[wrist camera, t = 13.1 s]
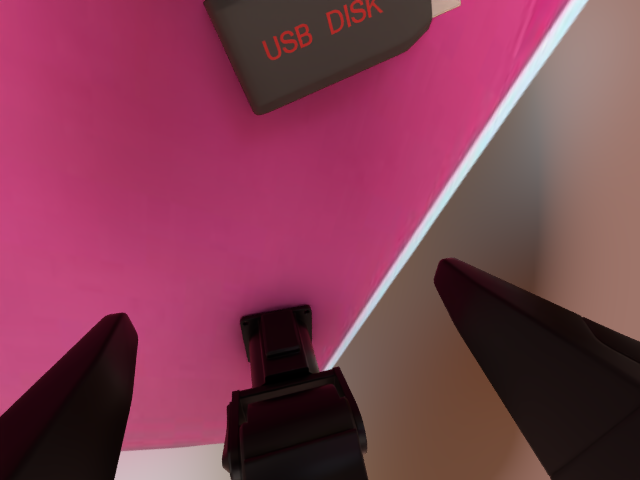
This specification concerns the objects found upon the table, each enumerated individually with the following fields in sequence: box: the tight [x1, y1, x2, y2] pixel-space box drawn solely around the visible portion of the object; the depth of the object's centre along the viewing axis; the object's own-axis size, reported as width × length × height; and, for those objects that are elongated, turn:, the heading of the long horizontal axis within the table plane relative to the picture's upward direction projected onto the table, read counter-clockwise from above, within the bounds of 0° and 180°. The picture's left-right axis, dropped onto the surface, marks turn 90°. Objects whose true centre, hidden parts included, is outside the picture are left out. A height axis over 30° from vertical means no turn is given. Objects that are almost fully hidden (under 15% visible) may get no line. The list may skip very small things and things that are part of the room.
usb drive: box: [203, 0, 461, 115], centre depth 15 cm, size 5×12×3 cm, turn 109°
